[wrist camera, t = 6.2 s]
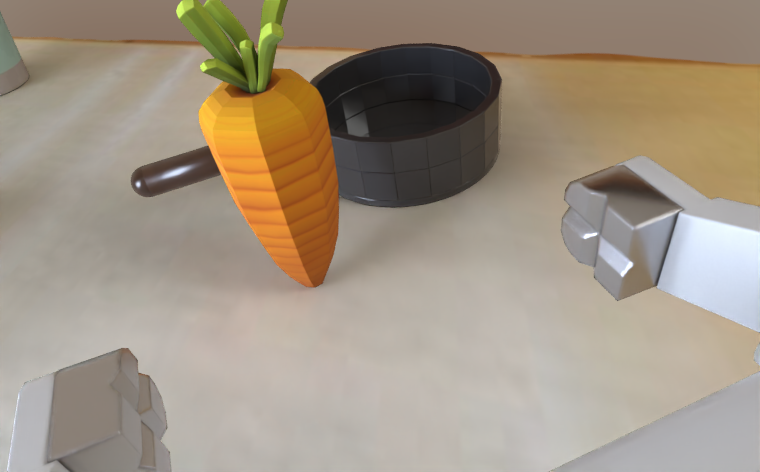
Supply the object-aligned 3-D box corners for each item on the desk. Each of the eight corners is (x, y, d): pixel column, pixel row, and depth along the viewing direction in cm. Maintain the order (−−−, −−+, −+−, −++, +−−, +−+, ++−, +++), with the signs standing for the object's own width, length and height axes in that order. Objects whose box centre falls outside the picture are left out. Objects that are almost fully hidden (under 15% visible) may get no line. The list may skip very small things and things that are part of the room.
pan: (349, 233, 31) (335, 168, 28) (295, 133, 40) (280, 76, 37) (537, 165, 33) (542, 99, 30) (447, 85, 42) (444, 27, 39)
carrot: (357, 243, 30) (292, -50, 20) (368, 311, 27) (297, -5, 17) (268, 261, 30) (159, -25, 20) (267, 332, 27) (134, 25, 17)
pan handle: (139, 207, 31) (125, 182, 30) (138, 190, 32) (124, 165, 31) (324, 147, 33) (318, 121, 32) (316, 133, 34) (309, 108, 33)
